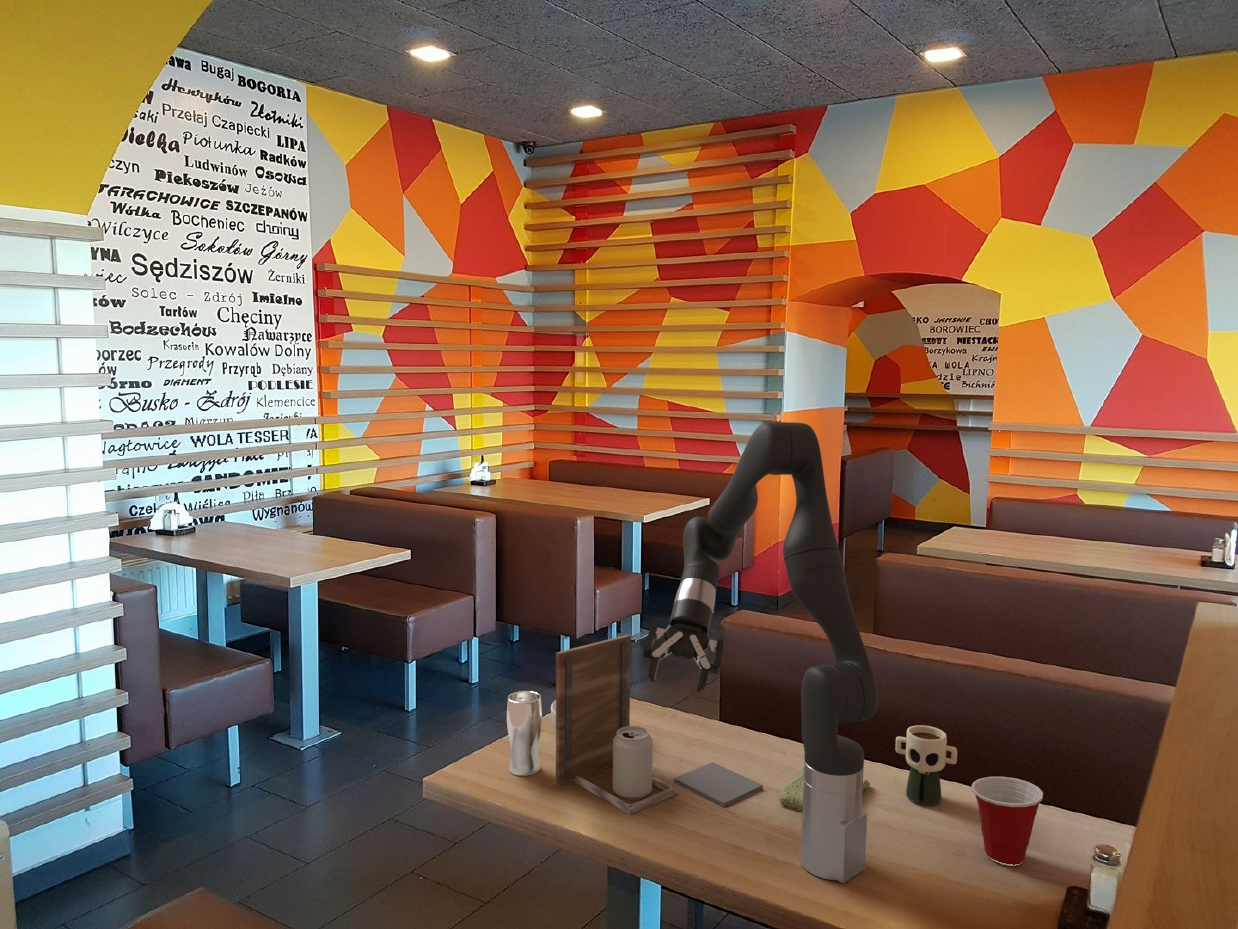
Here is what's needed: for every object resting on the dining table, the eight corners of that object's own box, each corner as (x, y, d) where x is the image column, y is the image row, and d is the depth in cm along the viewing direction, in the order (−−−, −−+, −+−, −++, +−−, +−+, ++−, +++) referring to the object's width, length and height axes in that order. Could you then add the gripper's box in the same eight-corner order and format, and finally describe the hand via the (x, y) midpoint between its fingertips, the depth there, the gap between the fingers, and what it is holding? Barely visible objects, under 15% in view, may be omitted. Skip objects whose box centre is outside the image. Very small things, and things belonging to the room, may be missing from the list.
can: (606, 787, 169) (606, 727, 168) (641, 780, 172) (641, 721, 171) (622, 805, 163) (623, 742, 161) (659, 797, 166) (659, 735, 164)
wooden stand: (688, 789, 169) (691, 657, 166) (617, 820, 157) (618, 678, 154) (625, 757, 182) (627, 634, 180) (555, 784, 171) (556, 652, 168)
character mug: (889, 800, 165) (892, 733, 164) (896, 785, 172) (899, 720, 170) (951, 814, 160) (955, 745, 159) (956, 798, 167) (960, 731, 165)
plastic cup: (979, 833, 154) (983, 766, 153) (1046, 855, 147) (1051, 785, 146) (958, 859, 146) (962, 789, 144) (1028, 883, 139) (1033, 810, 138)
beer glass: (544, 762, 180) (545, 691, 178) (538, 778, 173) (538, 704, 171) (511, 761, 180) (510, 689, 179) (503, 776, 174) (503, 702, 172)
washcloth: (872, 788, 171) (872, 772, 171) (842, 827, 156) (843, 810, 156) (807, 771, 178) (807, 756, 178) (773, 807, 163) (773, 791, 163)
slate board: (762, 789, 169) (762, 785, 169) (723, 807, 162) (723, 803, 162) (712, 765, 179) (712, 762, 179) (673, 782, 172) (673, 778, 172)
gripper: (657, 589, 167) (637, 666, 157) (732, 606, 164) (716, 685, 155) (656, 609, 173) (636, 685, 163) (728, 626, 170) (713, 703, 160)
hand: (675, 685), depth 159 cm, fingers open, 8 cm apart
